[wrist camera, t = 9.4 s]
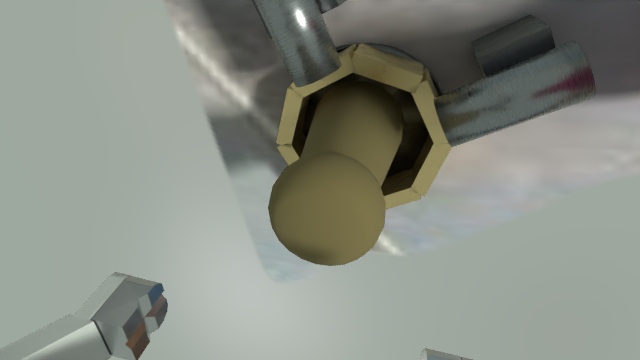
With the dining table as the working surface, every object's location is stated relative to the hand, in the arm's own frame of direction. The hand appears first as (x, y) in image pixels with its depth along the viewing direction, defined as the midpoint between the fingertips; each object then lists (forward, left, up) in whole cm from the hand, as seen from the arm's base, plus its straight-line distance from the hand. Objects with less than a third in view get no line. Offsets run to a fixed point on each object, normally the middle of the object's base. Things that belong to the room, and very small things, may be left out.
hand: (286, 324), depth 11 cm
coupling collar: (0, 0, -16) cm, 16 cm away
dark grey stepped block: (-5, +6, -16) cm, 18 cm away
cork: (0, 0, -16) cm, 16 cm away
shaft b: (+6, +5, -16) cm, 18 cm away
